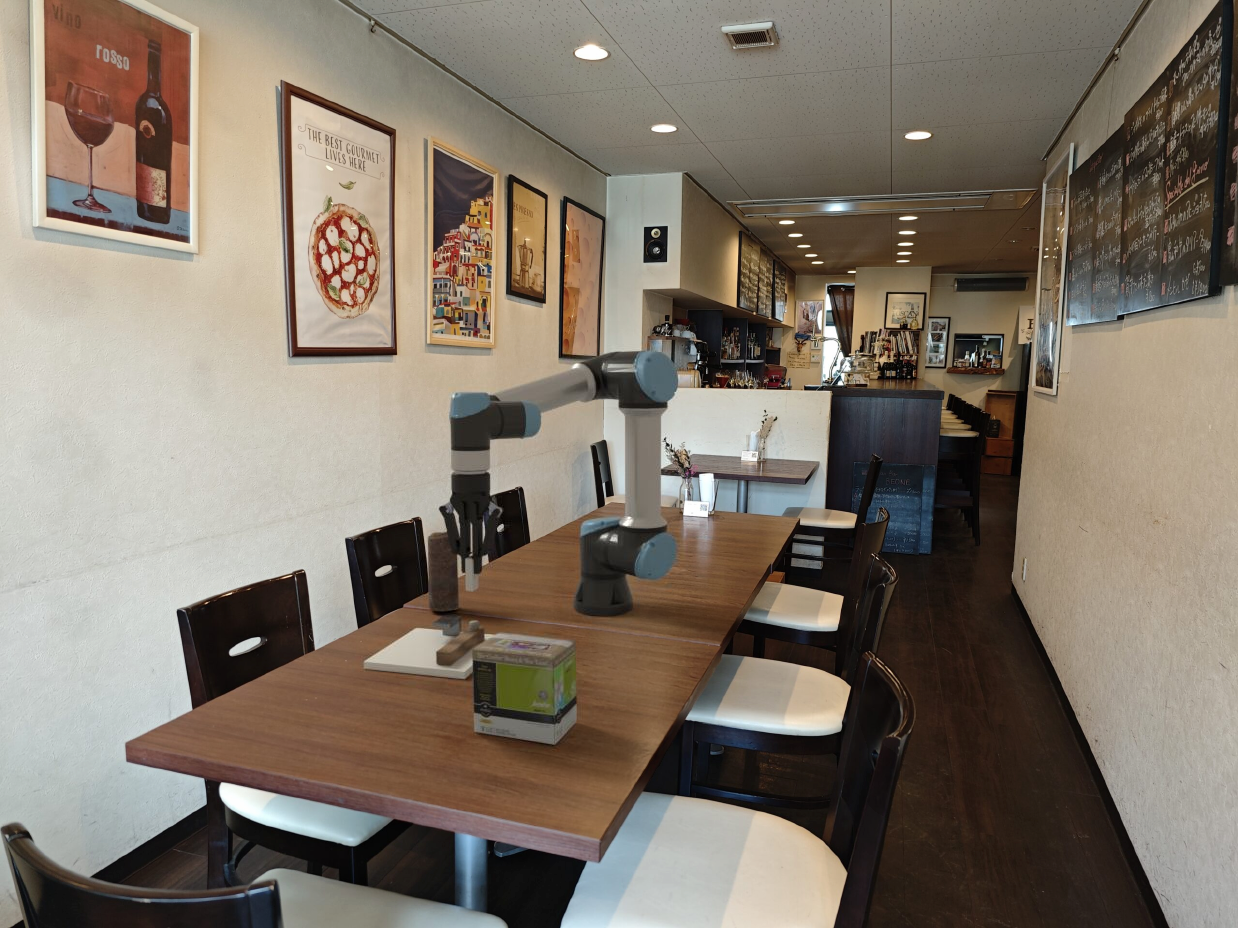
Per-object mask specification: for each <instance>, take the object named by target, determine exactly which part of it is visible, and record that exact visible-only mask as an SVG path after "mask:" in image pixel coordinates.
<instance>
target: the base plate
mask: <svg viewBox="0 0 1238 928" xmlns="http://www.w3.org/2000/svg"><path fill="white" fill-rule="evenodd" d="M462 632H463V631H461V633H462ZM484 634H485V640H484V641H486V640H488V639H489V638H491V637H492V636H494V635H495V634H490V633H489V634H488V633H484ZM456 637H457V636H448V635H443V630H442V629H435V628H434V629H432V628H422V627H415V628H413V630H411V631H409V632H408V633H406V634H405V635H403V636H402V637H399V638H398V639H397V640H395V641H394V642H392V643H390V644H389V645H387V646H386V647H383V649H381V650H380V651H378V652H376V653H375V654H373V655H372V656H370V657H369V658H367V659H365V660H364V661H363V669H364V670H372V671H381V672H391V673H393V672H394V673H401V674H410V675H421V676H429V677H442V678H450V679H460V680H466V679H467V678H468V677H469V676H470V675H471V674H473V660H472V649H473V648H475V647H477V646H478V645H480V644H481V643H483V642H484V641H483V642H481V643H477V644H476V645H475V646H474V647H472V648H471V649H470V650H469V651H467V652H466V653H465V654H464V655H462V656H461V657H460V658H459V659H457V660H456V661H455V662H454V663H452V664H451V665H442V664H436V652H437V651H438V650H439V649H441V648H442V647H443V646H445V645H446V644H447V643H449V642H450V641H452V640H453V639H454V638H456Z"/></svg>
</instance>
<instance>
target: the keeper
mask: <svg viewBox="0 0 1238 928" xmlns="http://www.w3.org/2000/svg"><path fill="white" fill-rule="evenodd" d="M432 628H435V629H436V628H437V629H441V630H443V635H448V636H458V635H460V634H461V632H462V616H459V615H450V614H449V615H448V614H444V615H442V616H441V617H439V618H438V619H436V620H435V621H433V622H432Z"/></svg>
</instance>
